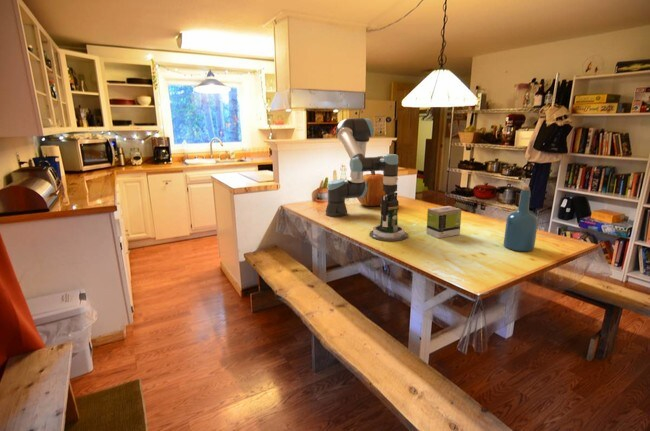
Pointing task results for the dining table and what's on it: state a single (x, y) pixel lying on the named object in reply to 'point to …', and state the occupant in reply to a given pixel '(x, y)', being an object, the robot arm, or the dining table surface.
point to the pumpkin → (373, 190)
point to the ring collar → (388, 234)
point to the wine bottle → (521, 225)
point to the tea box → (443, 221)
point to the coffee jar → (391, 217)
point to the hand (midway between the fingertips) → (388, 224)
